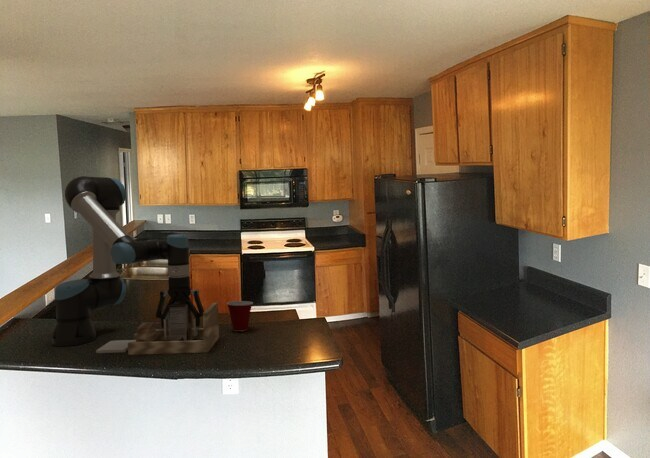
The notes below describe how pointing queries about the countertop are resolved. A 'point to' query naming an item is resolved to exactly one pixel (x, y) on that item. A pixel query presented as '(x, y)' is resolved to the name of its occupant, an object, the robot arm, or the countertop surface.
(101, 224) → the robot arm
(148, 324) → the offcut stack
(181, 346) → the rack
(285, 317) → the countertop surface
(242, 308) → the plastic cup
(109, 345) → the mat
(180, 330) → the coffee box
